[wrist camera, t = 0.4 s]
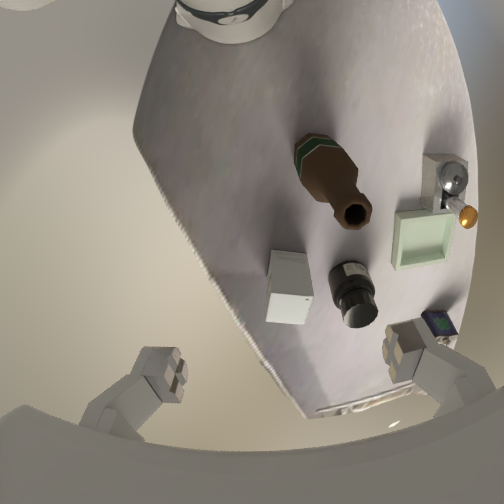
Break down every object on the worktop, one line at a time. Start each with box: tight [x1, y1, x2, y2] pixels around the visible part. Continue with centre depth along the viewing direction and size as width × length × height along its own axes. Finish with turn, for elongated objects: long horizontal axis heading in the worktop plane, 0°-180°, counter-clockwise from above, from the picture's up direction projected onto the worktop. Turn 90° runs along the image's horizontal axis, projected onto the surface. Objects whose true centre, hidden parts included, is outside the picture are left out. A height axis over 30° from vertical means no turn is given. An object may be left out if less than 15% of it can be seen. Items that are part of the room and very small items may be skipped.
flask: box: [421, 310, 459, 345], centre depth 58 cm, size 10×3×12 cm, turn 85°
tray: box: [391, 209, 456, 271], centre depth 49 cm, size 12×14×3 cm
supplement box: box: [266, 250, 314, 325], centre depth 51 cm, size 7×7×13 cm
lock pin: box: [441, 188, 478, 229], centre depth 39 cm, size 4×4×12 cm
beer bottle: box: [294, 134, 372, 230], centre depth 33 cm, size 8×8×24 cm
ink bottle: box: [329, 261, 378, 328], centre depth 52 cm, size 10×9×12 cm
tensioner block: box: [421, 154, 468, 214], centre depth 40 cm, size 10×8×7 cm
